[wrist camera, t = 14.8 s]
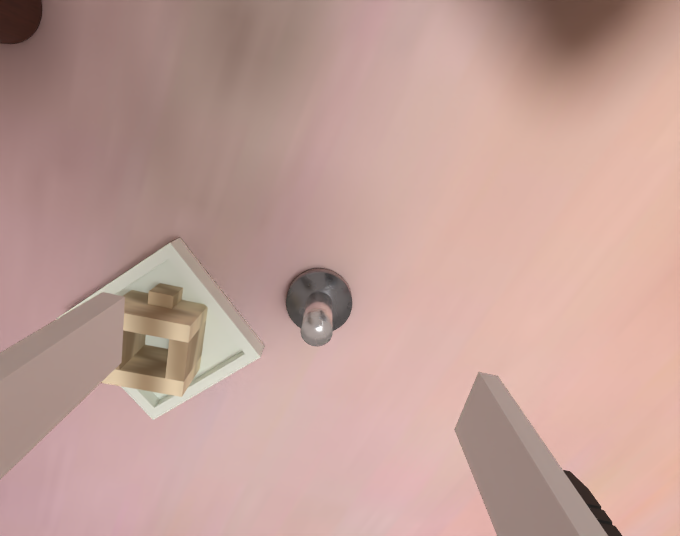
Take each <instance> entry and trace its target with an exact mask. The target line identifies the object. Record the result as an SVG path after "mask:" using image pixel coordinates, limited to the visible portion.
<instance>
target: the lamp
mask: <svg viewBox="0 0 680 536" xmlns="http://www.w3.org/2000/svg"><path fill="white" fill-rule="evenodd" d="M41 14H42V4H41V0H0V43H8V44H11V43H19V42H22V41H24V40H26V39H28V38H29V37H30V36H31V35H33V33H34V32H35V31H36V29H37V28H38V25H39V23H40V20H41Z"/></svg>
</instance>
